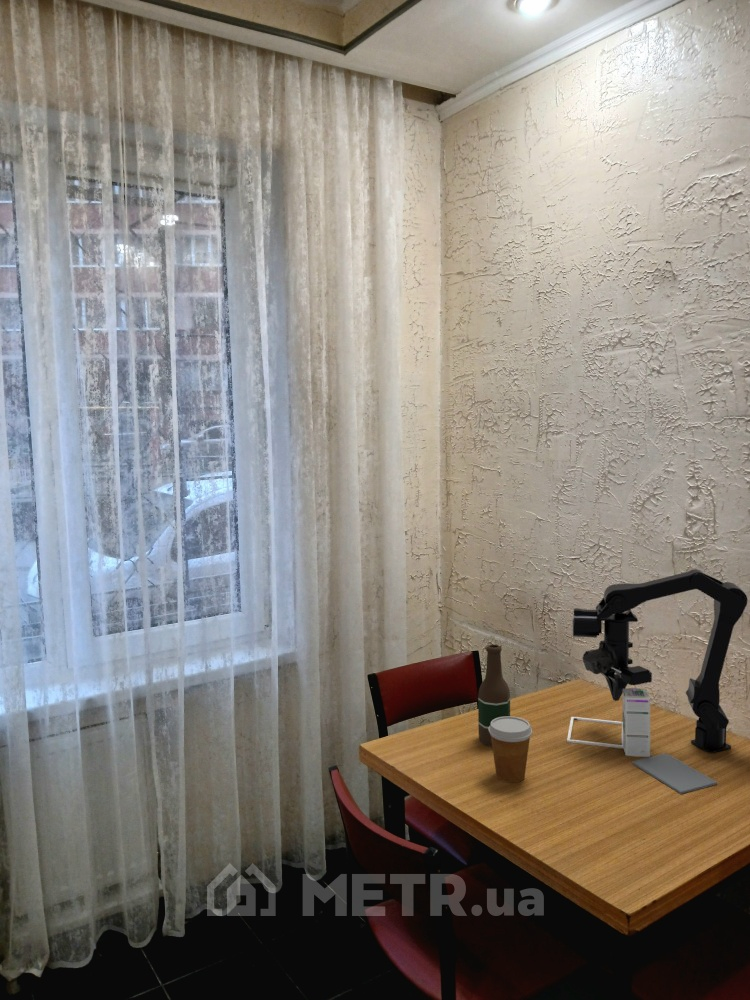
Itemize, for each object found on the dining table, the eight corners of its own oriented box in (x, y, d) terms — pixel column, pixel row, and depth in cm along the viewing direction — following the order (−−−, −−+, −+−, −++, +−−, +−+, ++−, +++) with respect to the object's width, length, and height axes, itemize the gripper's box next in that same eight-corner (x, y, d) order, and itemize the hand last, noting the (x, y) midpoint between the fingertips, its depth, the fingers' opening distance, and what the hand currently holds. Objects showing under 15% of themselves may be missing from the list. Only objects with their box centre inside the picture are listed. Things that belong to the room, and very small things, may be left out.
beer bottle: (512, 747, 181) (512, 650, 178) (480, 747, 181) (479, 651, 178) (507, 733, 189) (507, 640, 186) (476, 734, 189) (475, 641, 186)
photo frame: (645, 748, 178) (566, 739, 183) (645, 752, 178) (566, 743, 183) (644, 723, 191) (571, 715, 197) (644, 727, 191) (571, 720, 197)
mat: (666, 755, 175) (666, 753, 175) (717, 784, 161) (717, 782, 161) (631, 763, 171) (631, 761, 171) (680, 794, 158) (680, 791, 157)
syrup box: (650, 757, 174) (651, 697, 172) (624, 756, 175) (624, 696, 173) (647, 747, 180) (648, 688, 178) (621, 745, 181) (622, 687, 179)
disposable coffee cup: (484, 782, 164) (484, 730, 163) (493, 763, 173) (493, 713, 172) (528, 789, 161) (528, 735, 160) (535, 769, 170) (535, 718, 169)
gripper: (565, 632, 187) (565, 692, 189) (614, 653, 170) (613, 720, 171) (602, 626, 191) (601, 685, 193) (654, 647, 174) (653, 711, 175)
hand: (615, 700), depth 183 cm, fingers closed
